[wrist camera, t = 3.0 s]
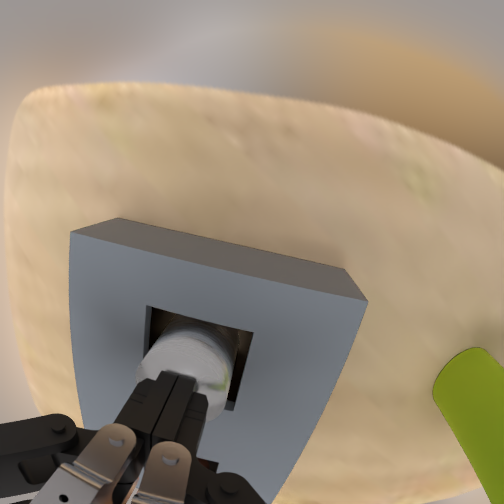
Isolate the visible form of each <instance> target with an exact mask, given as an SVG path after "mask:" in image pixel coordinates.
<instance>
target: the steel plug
mask: <svg viewBox="0 0 504 504" xmlns="http://www.w3.org/2000/svg"><path fill="white" fill-rule="evenodd" d="M238 347H239V332H238V329H236V328H232V327H228V326H224V325H219V324H215V323H211V322H207V321H203V320H199V319H195V318H192V317H188V316H184V315H180V314H177V313H176V314H175V316H174V317H173V318H172V320H171V321H170V322H169V324H168V325H167V327H166V328H165V329H164V331H163V332H162V334H161V335H160V336H159V338H158V339H157V341H156V342H155V343H154V345H153V346H152V348H151V349H150V350H149V352H148V353H147V355H146V356H145V357H144V359H143V360H142V362H141V363H140V365H139V366H138V368H137V371H136V376H135V380H136V386H137V384H138V383H139V382H141V381H143V380H144V379H146V378H149V379H152V380H155V381H156V379H157V377H158V375H159V374H160V372H161V371H162V370H163V371H166V372H169V373H173V374H176V375H179V376H184V377H187V378H191V379H195V380H197V385H196V391H195V392H197V393H201V394H205V395H206V396H207V400H208V403H209V406H208V411H207V416H206V421H205V423H206V422H209V421H211V420H213V419H215V418H216V417H217V416H219V415H220V414H221V412H222V411H223V409H224V407H225V404H226V400H227V396H228V391H229V387H230V382H231V378H232V374H233V369H234V365H235V360H236V356H237V351H238Z"/></svg>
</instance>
